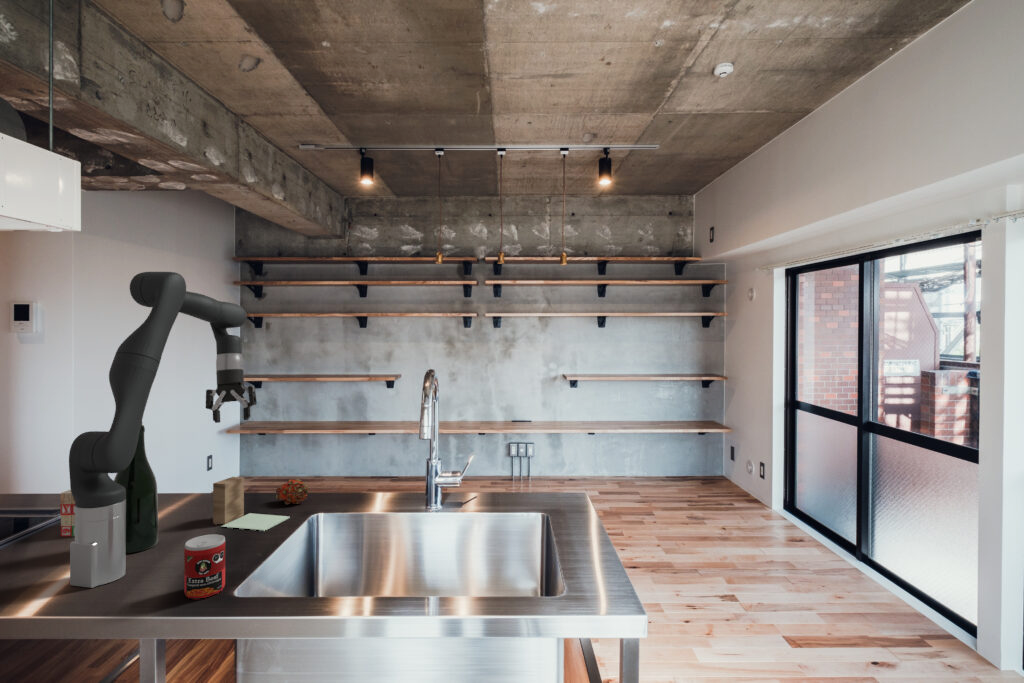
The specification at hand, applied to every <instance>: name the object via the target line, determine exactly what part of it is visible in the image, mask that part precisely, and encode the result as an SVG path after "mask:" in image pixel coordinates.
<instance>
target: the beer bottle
mask: <svg viewBox="0 0 1024 683" xmlns="http://www.w3.org/2000/svg"><path fill="white" fill-rule="evenodd" d="M145 431H146V428H145V425H143V422H142V423H141V428H140V433H139V438H138V443H137V447H136V451H135V454H134V457H133V459H132V461H131V463H130V464H129V466H128V467H127V468H126V469H125V470H123V471H121V472H119V473H115V474H116V475H115V477H114V479H113V481H115V482H116V483H118V484H120V485H122V486H124V488H125V490H126V554H134V553H138V552H142V551H146V550H149V549H151V548H153V547H154V546H156V545H157V543H158V542H159V507H158V506H159V504H158V502H159V501H158V485H157V484H158V483H157V480H156V479H157V478H156V476H155V474H154V471H153V468H152V467H151V465H150V463H149V460H148V457H147V453H146V452H147V451H146V446H145V445H146V444H145Z"/></svg>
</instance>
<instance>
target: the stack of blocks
mask: <svg viewBox="0 0 1024 683" xmlns="http://www.w3.org/2000/svg"><path fill="white" fill-rule="evenodd" d="M59 507H60V511H59V512H60V537H75V499H74V497H73V495H72V493H71V489H68V490H66V491H62V492H61V493H60V506H59Z"/></svg>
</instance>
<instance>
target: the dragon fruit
mask: <svg viewBox="0 0 1024 683" xmlns="http://www.w3.org/2000/svg"><path fill="white" fill-rule="evenodd" d="M275 492H276V493H277V494H276V495H275V498H276V500H278V501H279V500H280V501H283V500H284V504H285V505H291V503H292V504H294V505H299V504H300V503H302V502H301V501H306V500H308V495H309V494H310V493H311V492H310V491H309V488H308V486H307V485H306V484H305V483H304V482H303V481H302V480H300V479H299V478H298V479H297V478H296V479H288V481H287V482H286V483H283V484H281V486H279V487H277V488H276V490H275ZM279 493H280V494H279ZM286 493H296V494H286ZM298 493H309V494H298Z"/></svg>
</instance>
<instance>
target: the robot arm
mask: <svg viewBox="0 0 1024 683" xmlns="http://www.w3.org/2000/svg"><path fill="white" fill-rule="evenodd" d="M129 292H130V295H131V298H132V299H133V300H134V302H136V303H137V304H138V305H140V306H143V307H147V308H151V310H150V312H149V314H148V316H147V318H146V319H145V320H144V321H143V322H142V323H141V324H140V325H139V326H138V327H137V328H136V329H135V330H134V331H133V332H132V333H131V334H129V335H128V336H127V337H126V338H125V339H124V340H123V341H122V343H120V345H119V346H118V348H117V349H116V352H115V354H114V357H113V360H112V363H111V365H110V368H109V371H108V379H109V386H110V389H111V392H112V395H113V398H114V405H115V410H114V416H113V419H112V423H111V425H110V427H109V428H110V429H109V431H102V430H101V431H98V430H94V431H84V432H82V433H80V434H79V435H77V437H75V439H74V440H73V441H72V443H71V446H70V449H69V454H68V471H69V486H70V490H71V493H72V495H73V497H74V499H75V536H74V540H73V541H71V542H70V543H69V544H70V546H69V554H70V556H69V561H70V562H69V585H70V586H75V587H83V588H89V589H91V588H96V587H97V586H98V587H99V586H101V585H105V584H108V583H112V582H115V581H116V580H120V579H121V578H123V577H124V576H125V575H126V570H127V569H126V564H127V563H126V556H127V555H126V490H125V488H124V486H122V485H120V484H118V483H116V482H115V481H114V479H112V478H111V477H110V475H109V474H117V473H119V472H121V471H123V470H125V469H126V468H127V467H128V466H129V464H130V463H131V461H132V459H133V457H134V454H135V451H136V447H137V443H138V438H139V433H140V428H141V423H142V424H143V418H144V414H145V413H144V412H145V410H146V406H147V404H148V399H149V396H150V394H151V389H152V387H153V383H154V381H155V378H156V376H157V373H158V370H159V367H160V364H161V360H162V356H163V353H164V350H165V347H166V344H167V342H168V339H169V336H170V333H171V330H172V329H173V326H174V323H175V321H176V319H177V318H178V315H179V313H181V314H185V315H187V316H190V317H193V318H196V319H198V320H201V321H204V322H207V323H209V325H210V327H211V331H212V334H213V336H214V339H215V343H216V345H215V346H216V349H215V350H216V358H215V359H216V360H215V369H216V372H215V374H216V386H217V387H216V389H210V388H209V389H206V390H205V409H207V410H211V411H212V420H213V422H214V423H215V424H216V423H217V424H218V423H221V410H220V409H221V408H222V406H223V405H225V403H231V402H238V403H240V404H241V406H242V407H243V409H242V413H243V421H249V419H250V418H251V407H254V406H255V405H257V394H256V393H257V392H256V387H255V386H253V385H249V386H245V375H244V374H245V373H244V372H245V371H244V368H245V366H244V360H243V350H242V348H243V347H242V346H243V345H242V338H241V337H240V336H239V335H235V334H229V332H228V330H227V329H231V328H232V329H234V328H235V329H236V328H240V327H243V325H245V324H246V322H247V318H248V314H247V312H246V310H245V309H244V308H243V307H242V305H239V304H236V303H233V302H227V301H220V300H217V299H215V298H213V297H211V296H208V295H205V294H202V293H198V292H192V291H187V284H186V280H185V278H184V277H183V275H181V273H178V272H175V271H174V272H173V271H143V272H139V273H138V274H136V275H134V276H133V277H132V279H131V280H130V283H129ZM245 392H246V393H247V394H248V399H247V398H246V397H245V396H244V394H245ZM215 395H217V396H218V398H216V401H215V400H214V397H215ZM248 400H249V401H248ZM214 401H215V402H214Z"/></svg>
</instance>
